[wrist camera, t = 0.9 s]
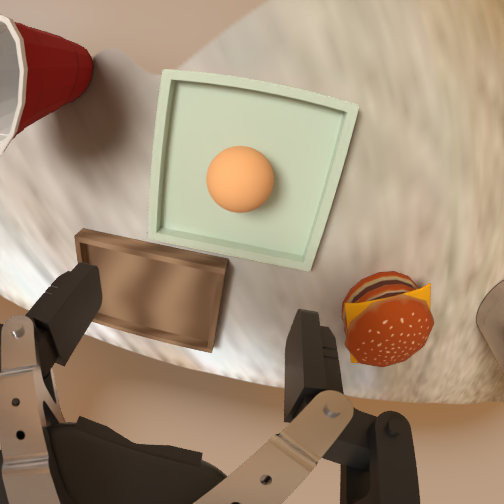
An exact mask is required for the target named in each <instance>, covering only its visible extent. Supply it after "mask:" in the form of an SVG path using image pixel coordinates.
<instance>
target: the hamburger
mask: <svg viewBox="0 0 504 504" xmlns="http://www.w3.org/2000/svg"><path fill="white" fill-rule="evenodd" d="M430 293H431V283H429V284H428V285H426V286H424V287H422V288H420V289H418V287H417V285H416V284H415V283H414V282H413V281H412V280H411V279H410V277H408V276H406V275H403V274H400V273H397V272H395V271H392V272H379V273H376V274H374V275H371V276H369V277H367V278H364V279H362V280H361V281H360V282H359V283H357V284H356V285H355V286H354V287H353V288H352V289H351V290H350V291H349V293H348V295H347V296H346V298H345V300H344V301H343V305H342V320H343V322H344V324H345V329H344V331H345V334H346V336H347V337H346V341H345V346H346V347H347V349H348V350H349V351H350V355H351V362H352V363H361V364H366V365H372V366H378V367H385V366H389V365H392V364H396V363H399V362H403V361H405V360H407V359H408V358H409V357H411V356H412V355H413V354H415V353H416V352H417V351H418V350H420V349H421V348H422V347H423V346H424V345H425V343H426V341H427V339H428V336H429V334H430V332H431V330H432V327H433V325H434V319H433V316H432V314H431V311H430Z"/></svg>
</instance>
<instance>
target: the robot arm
mask: <svg viewBox="0 0 504 504" xmlns="http://www.w3.org/2000/svg"><path fill="white" fill-rule="evenodd" d="M102 298H103V296H102V289H101V281H100V274H99V268H98V267H97V266H96V265H92V264H88V263H84V262H80V263H78V264H77V265H76V267H75V268H74V269H73V270H72V271H71V272H70V271H67V272H66V273H64V274H62V275H61V276H59V277H58V278H57V279H56V280H55V281H54V282H53V283H52V284H51V287H49V288H48V289H47V290H46V292H45V293H44V294H43V295H42V296H41V297H40V298H39V299H38V301H37V302H36V303H35V304H34V305H33V307H32V308H31V309H30V310H29V312H28V313H27V314H26V315H25V316H22V315H21V316H14V317H12V318H10V319H9V320H7V321H6V322H5V324H0V443H1V450H0V504H282V503H283V502H284V501H285V500H286V499H287V498H288V496H289V495H290V494H291V493H292V492H293V491H294V490H295V489H296V488H297V487H298V486H299V485H300V484H301V482H302V481H303V480H304V479H305V478H306V477H307V476H308V475H309V473H310V472H311V471H312V470H313V469H314V467H315V466H316V465H317V463H318V461H319V460H320V459H321V458H324V459H327V460H330V461H333V462H336V463H339V464H341V482H340V504H420V496H419V485H418V476H417V467H416V460H415V453H414V446H413V439H412V433H411V428H410V424H409V422H408V421H407V419H406V418H405V417H404V416H403V415H401V414H400V413H397V412H394V411H387V412H384V413H382V414H380V415H379V416H378V417H376V416H373V415H370V414H367V413H364V412H361V411H359V410H357V409H355V408H354V407H353V405H352V403H351V401H350V400H349V399H348V398H347V397H346V396H345V395H344V393H343V387H342V380H341V373H340V366H339V360H338V352H337V346H336V340H335V337H334V335H333V334H332V332H331V330H330V329H329V327H323V326H320V322H319V314H318V312H314V311H308V310H302V309H298V311H297V313H296V316H295V318H294V321H293V324H292V326H291V329H290V332H289V335H288V338H287V341H286V347H285V401H284V402H285V403H284V404H285V405H284V422H289V423H290V424H289V425H288V426H287V427H286V428H285V429H284V430H283V431H282V432H281V433H279V434H276V435H275V436H274V437H272V438H271V439H270V440H269V441H268V442H267V443H265V444H264V445H263V446H262V447H261V448H260V449H259V450H258V451H257V452H256V453H255V454H254V455H252V456H251V457H250V458H249V459H248V460H247V461H246V462H244V463H243V464H242V465H241V466H240V467H239V468H237V469H236V470H235V471H234V472H233V473H232V474H230V475H229V476H226V475H225V474H224V473H223V472H222V471H221V470H219V469H218V468H216V467H215V466H213V465H211V464H210V463H208V462H206V461H203V460H202V453H200V452H196V451H191V450H187V449H182V448H178V447H174V446H170V445H145V444H136V443H133V442H131V441H129V440H128V439H126V438H124V437H123V436H121V435H120V434H118V433H116V432H115V431H113V430H112V429H110V428H109V427H107V426H104V425H102V424H99V423H96V422H94V421H91V420H88V419H86V418H84V417H81V416H79V418H78V421H77V423H72V422H68V423H66V421H65V419H64V417H63V414H62V412H61V408H60V404H59V400H58V395H57V390H56V385H55V380H54V374H53V370H52V366H53V365H54V363H57V364H60V365H62V366H65V365H66V363H67V361H68V359H69V357H70V356H71V354H72V353H73V351H74V349H75V347H76V346H77V344H78V343H79V341H80V339H81V338H82V336H83V335H84V333H85V331H86V330H87V328H88V327H89V325H90V324H91V322H92V320H93V319H94V317H95V316H96V314H97V313H98V311H99V309H100V307H101V304H102ZM477 325H478V327H479V329H480V331H481V332H482V334H483V336H484V338H485V339H486V341H487V343H488V345H489V347H490V349H491V351H492V353H493V354H494V356H495V358H496V360H497V362H498V364H499V366H500V368H501V370H502V372H503V374H504V281H502V282H501V283H499V284H498V285H497V286H496V287H495V288H493V289H492V290H491V292H490V293H489V294H488V295H487V296H486V298H485V299H484V301H483V302H482V304H481V306H480V308H479V311H478V313H477Z"/></svg>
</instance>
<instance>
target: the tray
mask: <svg viewBox="0 0 504 504" xmlns="http://www.w3.org/2000/svg"><path fill="white" fill-rule="evenodd" d="M75 245H76V253H77V260H78V263H80V262H84V263H88V264H92V265H96V266H97V267H98V268H99V274H100V281H101V289H102V296H103V298H102V304H101V307H100V309H99V311H98V313H97V314H96V316H95V317H94V319H93V320H92V322H95V323H98V324H101V325H105V326H108V327H111V328H115V329H118V330H121V331H125V332H128V333H132V334H135V335H139V336H143V337H146V338H150V339H154V340H158V341H162V342H166V343H170V344H174V345H178V346H182V347H186V348H191V349H195V350H200V351H204V352H209V353H212V350H213V346H214V341H215V335H216V329H217V322H218V316H219V310H220V304H221V298H222V292H223V286H224V280H225V274H226V268H227V262H228V259H227V258H222V257H217V256H212V255H207V254H202V253H197V252H193V251H188V250H183V249H178V248H173V247H168V246H164V245H159V244H154V243H149V242H145V241H140V240H135V239H131V238H126V237H121V236H117V235H112V234H107V233H103V232H98V231H93V230H89V229H84V228H83V229H82V230H81V231H80V232H78V233H77V234H76V235H75Z"/></svg>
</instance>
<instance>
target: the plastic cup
mask: <svg viewBox="0 0 504 504" xmlns="http://www.w3.org/2000/svg"><path fill="white" fill-rule="evenodd" d="M92 72H93V64H92V57H91V56H90V54H89V53H88V51H87V50H86V49H85V48H84V47H82V46H80V45H78V44H76V43H74V42H71V41H69V40H66V39H64V38H62V37H60V36H57V35H54V34H51V33H48V32H44V31H41V30H38V29H35V28H31V27H28V26H25V25H23V24H21V23H16V22H14V21H13V20H12V19H10V18H8V17H6V16H3V15H1V14H0V155H1V154H2V153H3V152H4V151H5V150H6V148H7V146H8V145H9V143H10V142H11V140H12V139H13V138H15V136H16V135H17V134H19V133H20V132H21V131H23V130H24V128H26V127H27V126H29V125H31V124H32V123H34V122H36V121H38V120H39V119H41V118H43V117H45V116H46V115H48V114H50V113H52V112H54V111H55V110H57V109H59V108H60V107H61V106H63V105H65V104H67V103H69V102H72V101H74V100H75V99H76V98H78V97H79V96H80V95H81V94H82V93H83V92H84V91H85V90H86V89H87V87H88V85H89V83H90V81H91V77H92Z"/></svg>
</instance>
